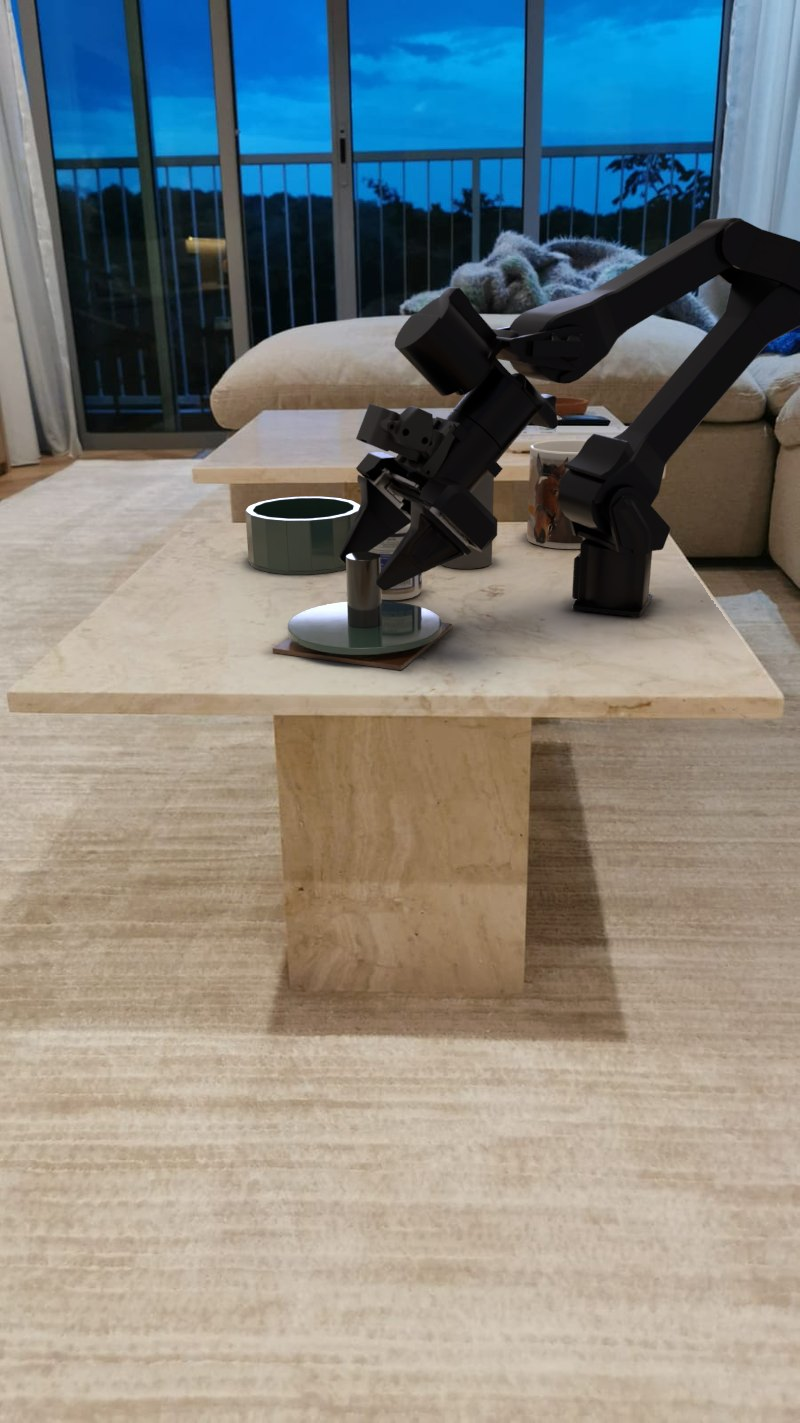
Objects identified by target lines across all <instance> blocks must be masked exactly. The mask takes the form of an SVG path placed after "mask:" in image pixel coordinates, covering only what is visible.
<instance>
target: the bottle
mask: <svg viewBox="0 0 800 1423" xmlns="http://www.w3.org/2000/svg"><path fill="white" fill-rule="evenodd" d="M494 486H495V478H494V477H492V476H489V475H485V477H484V478H483V479H482V480H481V481H480V483H479V484H478V485H477V486H476V487H475V489H474V490H473V491H472V492H471V493H472V494H473V495H474V496H475V497H476V498H477V499H478V500H479V501H480V502H481V503H482V504H483V505H484V506H485V507H486V508H487V509H488V510H489V511H490V512H491V514H492V515H493V516H494V494H495V492H494V491H495V489H494ZM467 547H468V548H469V549H470V550H471V551H472V553H471V554H470V555H469V556H466V555H463V556H461V557H458V558H456V559H453V560H451V561H449V562H446V563H444V564H441V565H442V566H444V567H446V568H451V569H458V570H475V569H480V568H485V567H488V566H490V565H491V564H492V562H493V561H492V560H493V541H492V542H491V543H490V545H489V546H488V547H487V548H486V549H485V550H484V552H483V553H482V552H480V551H478V550H476V549H474V548H472V547H470V546H469V545H467Z"/></svg>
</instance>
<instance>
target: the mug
mask: <svg viewBox="0 0 800 1423" xmlns="http://www.w3.org/2000/svg"><path fill="white" fill-rule="evenodd" d="M586 441H587V439H551V440H542V441H537V442H534V443H531V444H530V446H529V447H530V448H529V466H528V467H529V470H528V492H527V493H528V494H527V495H528V496H527V521H526V522H527V524H526V539H527V541H528V542H530V543H531V544H533V545H537V546H540V547H545V548H549V549H550V548H551V549H558V550H559V549H560V550H580V547H581V542H582V541H583V540H585V538H582V537H580V536H575V535H573V532H572V528H571V525H570V521H569V518H567V517H566V516H565V515H564V513H563V512H562V510H561V508H560V504H559V490H558V485H559V483H560V480H561V479H562V477H563V476H564V474H565V473H566V471H567V470H568V468H565V467H564V464H565V463H567V462H569V461H570V460H572V459H573V458H574V457H575V456H576V455H577V454H578V453H579V452H580V450H581V449H582V447H583V445H584V444H585V442H586Z"/></svg>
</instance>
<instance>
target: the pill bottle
mask: <svg viewBox="0 0 800 1423" xmlns="http://www.w3.org/2000/svg"><path fill="white" fill-rule="evenodd" d="M403 513H404V512H403ZM404 514H405V515H406V516H407V517H408V518H409V519H410V520H411V516H410V515H408V514H406V513H404ZM409 528H410V524H408V525H407V526H405V527H404V528H402V529H401V530H399V531H398V532H396V533H395V534H393V535H392V536H390V537H389V538H388V539H386V540H385V541H383V542H382V543H380V544H379V545H377V546H376V547H374V548H373V549H371V550H370V551H369V552H373V553H377V554H379V555H380V556H381V571H382V569H383V567H384V566H385V564H386V563H387V561H388V560H389V558H390V557H391V555H392V554H393V552H394V551H395V549H396V548H397V546H398V545H399V543H400V542H401V540H402V539H403V537H404V536H405V534H406V533H407V531H408V530H409ZM422 590H423V573H421V574H419V575H417V576H415V577H413V578H411V579H409V580H407V581H404V582H402V583H400V584H398V585H396V586H394V587H392V588H390V589H388V590H385V591H384V590H382V589H381V599H382V601H402V600H408V599H412V598H414V597H416V596H418V595H419V594H420V593H421V592H422Z"/></svg>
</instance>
